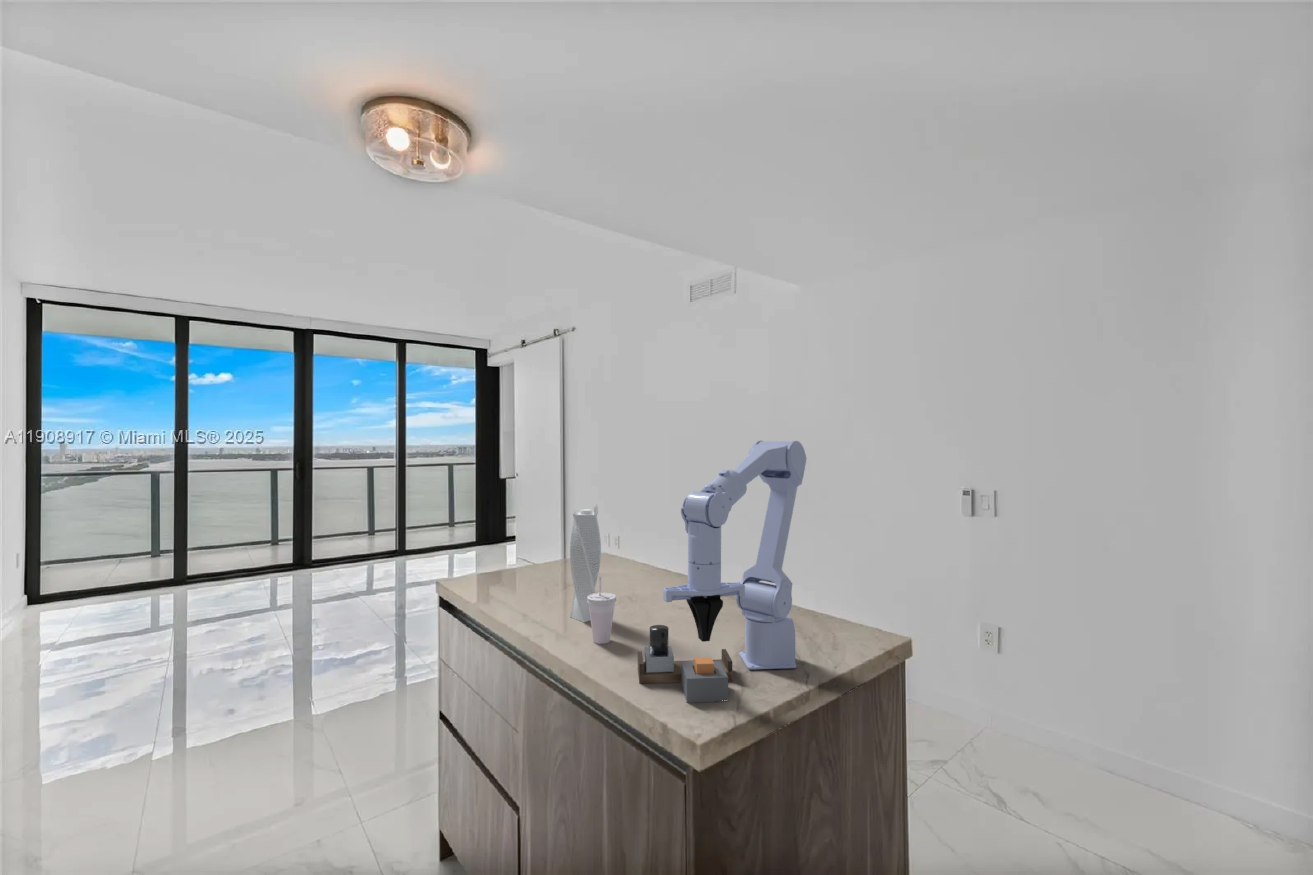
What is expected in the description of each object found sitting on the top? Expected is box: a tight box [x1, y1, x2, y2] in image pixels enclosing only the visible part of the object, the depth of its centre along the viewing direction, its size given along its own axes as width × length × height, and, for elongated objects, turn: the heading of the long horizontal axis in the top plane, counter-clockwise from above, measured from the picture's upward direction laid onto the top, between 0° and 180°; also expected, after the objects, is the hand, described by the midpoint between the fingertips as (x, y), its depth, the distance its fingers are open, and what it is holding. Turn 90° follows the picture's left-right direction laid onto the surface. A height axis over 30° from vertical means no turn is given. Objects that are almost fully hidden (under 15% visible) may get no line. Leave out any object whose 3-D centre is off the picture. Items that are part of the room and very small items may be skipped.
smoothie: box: [587, 575, 617, 645], centre depth 124 cm, size 6×6×14 cm
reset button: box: [693, 656, 714, 674], centre depth 99 cm, size 3×3×4 cm
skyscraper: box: [569, 503, 602, 623], centre depth 140 cm, size 8×8×28 cm
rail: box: [637, 648, 733, 684], centre depth 106 cm, size 17×6×4 cm, turn 95°
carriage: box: [644, 624, 675, 673], centre depth 106 cm, size 5×5×7 cm
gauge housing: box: [680, 661, 729, 704], centre depth 99 cm, size 7×7×4 cm
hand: (704, 639), depth 99 cm, fingers closed
